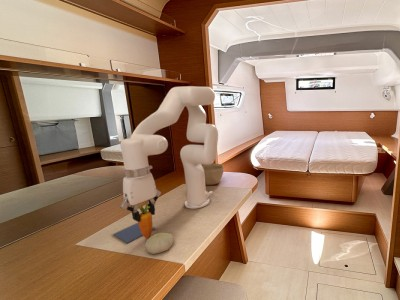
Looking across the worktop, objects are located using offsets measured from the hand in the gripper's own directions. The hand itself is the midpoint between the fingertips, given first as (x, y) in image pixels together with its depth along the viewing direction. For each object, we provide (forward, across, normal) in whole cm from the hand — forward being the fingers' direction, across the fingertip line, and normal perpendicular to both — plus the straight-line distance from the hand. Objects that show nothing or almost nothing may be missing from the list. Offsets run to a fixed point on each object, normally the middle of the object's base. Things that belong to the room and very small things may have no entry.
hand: (144, 216), depth 83 cm
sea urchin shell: (+10, 0, +9) cm, 13 cm away
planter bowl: (+10, -57, -24) cm, 63 cm away
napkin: (+10, 0, -10) cm, 14 cm away
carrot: (+10, 0, 0) cm, 10 cm away
